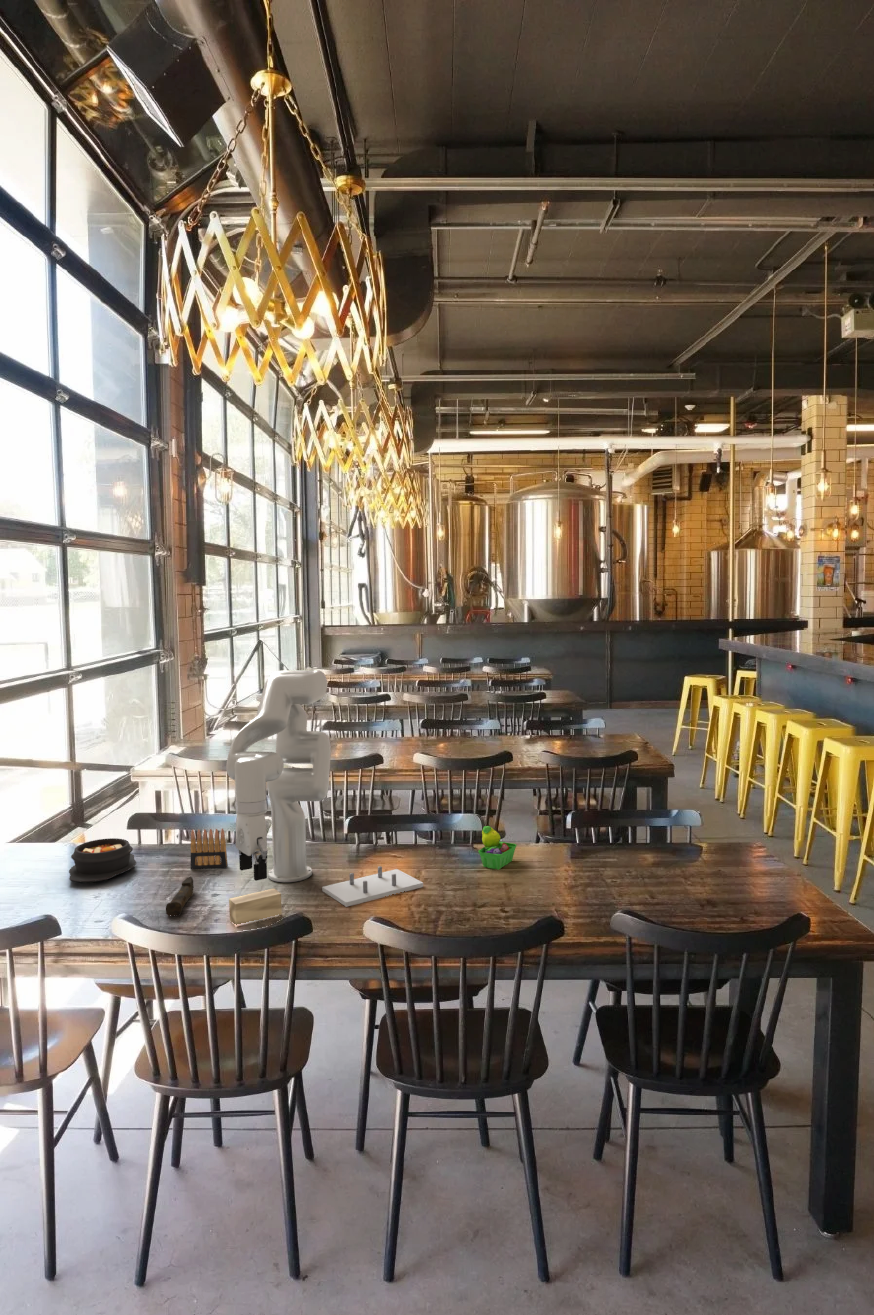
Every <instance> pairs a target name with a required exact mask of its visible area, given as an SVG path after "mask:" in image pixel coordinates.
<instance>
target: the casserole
mask: <svg viewBox="0 0 874 1315" xmlns="http://www.w3.org/2000/svg"><path fill="white" fill-rule="evenodd" d="M133 849H134V848H133V847H132V846H131V845H130V842H129V840H126V839H124V838H123V839H122V838H118V837H117V838H114V837H113V838H110V837H109V838H99V839H95V840H90V841H86V842H83V843H81V844H78V845H77V846H76V847H75V848H74V850H73V853H72V854H71V857H70V858H71V859H72V860H73V863H74V865H73V866H71V867H70V868H69V870H68V873H69V881H72V882H76V883H77V882H79V883H94V882H102V881H107V880H109V879H112V878H113V877H115V876H117V875H120V874H123V873H125V872H128V871H129V870H131V869H133V868H134V867H135V866H136V865H137V861H136V859H135V855H134V854H133V853H132V851H133Z"/></svg>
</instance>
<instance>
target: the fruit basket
mask: <svg viewBox="0 0 874 1315" xmlns="http://www.w3.org/2000/svg"><path fill="white" fill-rule="evenodd" d="M481 834H482V838H481V840H482V844H483V845H484V846H483V847H482V848H481V849H478V850H477V851H478V855H479V856H480V861H481V863H482V866H483V868H488V869H492V870H500V869H502V868H504V867H506V866H507V865H508V864H509V863H512V861H513V859H514V854H515V852H516V848H517V846H518V845H517V844H516V843H511V842H506V841H500V840H501V835H500V833H499V832H498V831H497V830H495V829H493V827H491V826H489V825H487V826H486V825H485V826H483V828H482V831H481Z"/></svg>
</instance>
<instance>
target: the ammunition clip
mask: <svg viewBox="0 0 874 1315" xmlns="http://www.w3.org/2000/svg"><path fill="white" fill-rule="evenodd" d="M194 830H195V829H192V830H191V831H190V832H191V833H190V870H194V871H195V870H213V869H218V870H219V869H220V870H221V869H227V868H228V855H227V852H228V851H227V844H226V843H227V842H226V841H227V840H226V837H225V836H226V835H225V830H224V828H221V830H220V831H221V832H220V833H219V830H218V828H215V831H214V833H213V830H212V829H211V828H209V833H207V830H206V828H204V829H203V833H201V830H200V829H197V832H196V833H195V831H194Z"/></svg>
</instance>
